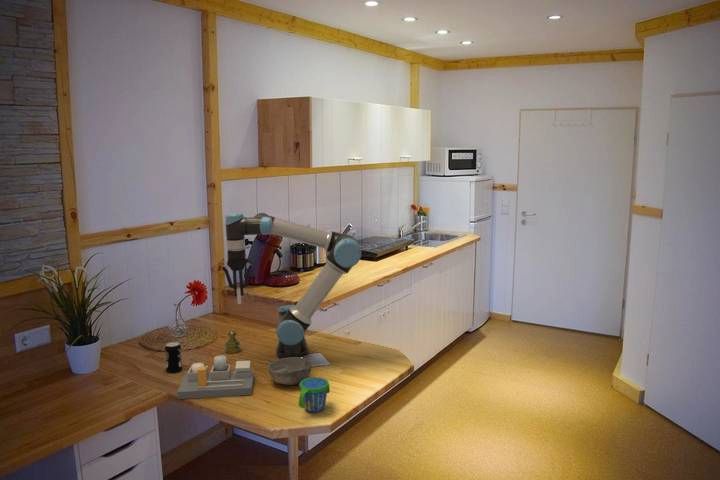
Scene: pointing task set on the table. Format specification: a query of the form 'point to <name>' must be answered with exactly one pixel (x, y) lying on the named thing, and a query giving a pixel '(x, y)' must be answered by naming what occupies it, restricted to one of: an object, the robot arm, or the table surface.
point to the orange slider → (202, 376)
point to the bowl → (290, 370)
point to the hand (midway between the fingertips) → (239, 302)
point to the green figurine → (232, 343)
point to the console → (217, 384)
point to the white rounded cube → (196, 367)
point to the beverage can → (173, 357)
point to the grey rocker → (242, 366)
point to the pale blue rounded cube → (220, 363)
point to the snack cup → (313, 393)
